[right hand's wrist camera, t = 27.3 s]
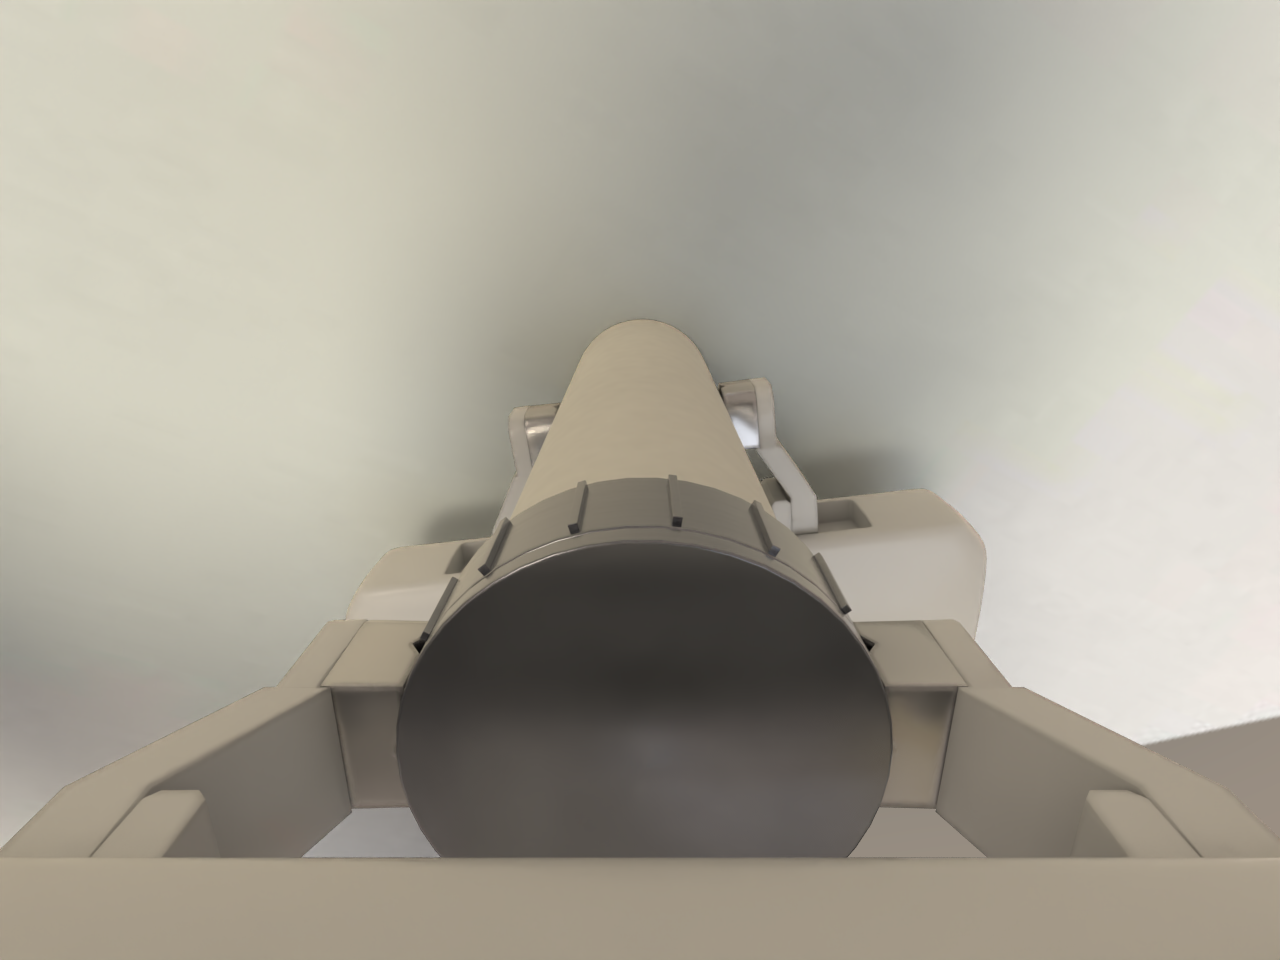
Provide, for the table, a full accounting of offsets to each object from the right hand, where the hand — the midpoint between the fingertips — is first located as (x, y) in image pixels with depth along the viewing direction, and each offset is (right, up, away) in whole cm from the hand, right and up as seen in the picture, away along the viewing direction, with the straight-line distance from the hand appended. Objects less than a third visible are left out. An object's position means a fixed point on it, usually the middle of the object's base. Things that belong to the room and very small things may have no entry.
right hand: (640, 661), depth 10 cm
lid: (0, -1, -2) cm, 2 cm away
